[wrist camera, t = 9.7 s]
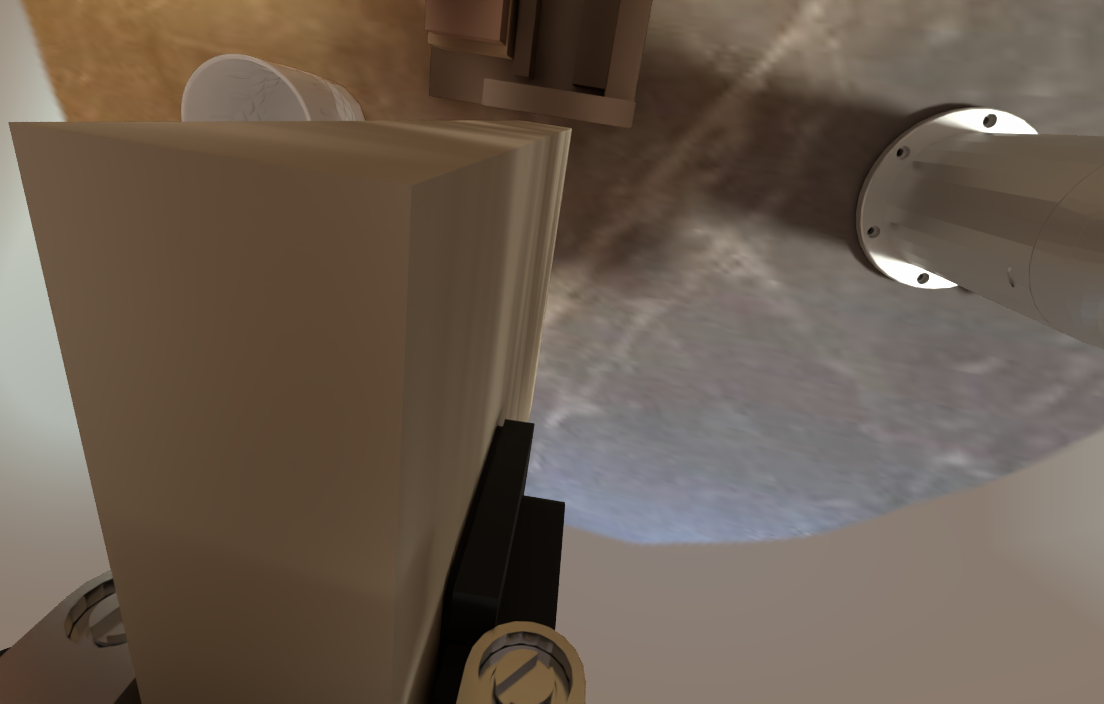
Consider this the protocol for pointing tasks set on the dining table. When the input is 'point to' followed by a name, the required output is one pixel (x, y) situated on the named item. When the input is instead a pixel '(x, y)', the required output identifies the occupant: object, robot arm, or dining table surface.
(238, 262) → the birch sheet
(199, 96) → the white cup
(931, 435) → the dining table surface
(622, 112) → the walnut rack
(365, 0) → the dining table surface
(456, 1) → the offcut bundle
